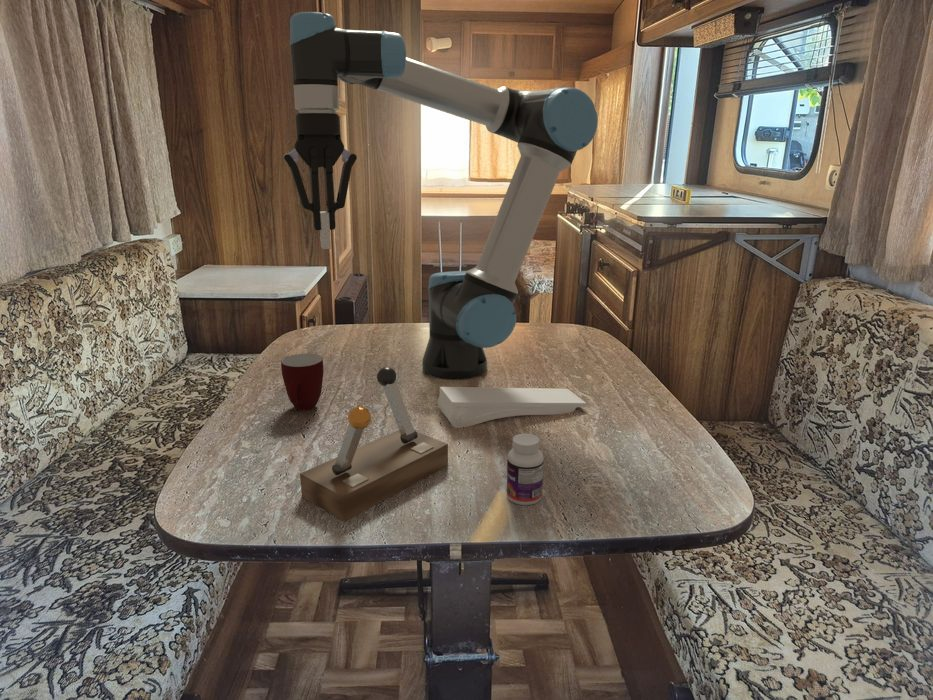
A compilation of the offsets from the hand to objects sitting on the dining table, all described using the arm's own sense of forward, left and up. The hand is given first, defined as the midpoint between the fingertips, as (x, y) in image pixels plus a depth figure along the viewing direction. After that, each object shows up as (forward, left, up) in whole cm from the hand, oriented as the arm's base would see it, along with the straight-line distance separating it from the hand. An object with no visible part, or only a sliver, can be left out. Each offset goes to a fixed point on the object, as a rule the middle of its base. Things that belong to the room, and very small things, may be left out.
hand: (325, 247), depth 122 cm
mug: (+6, -2, -33) cm, 33 cm away
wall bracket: (-33, +12, -33) cm, 48 cm away
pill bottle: (-22, +43, -33) cm, 58 cm away
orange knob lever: (+4, +34, -27) cm, 44 cm away
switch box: (-2, +31, -32) cm, 45 cm away
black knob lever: (-8, +27, -27) cm, 40 cm away
